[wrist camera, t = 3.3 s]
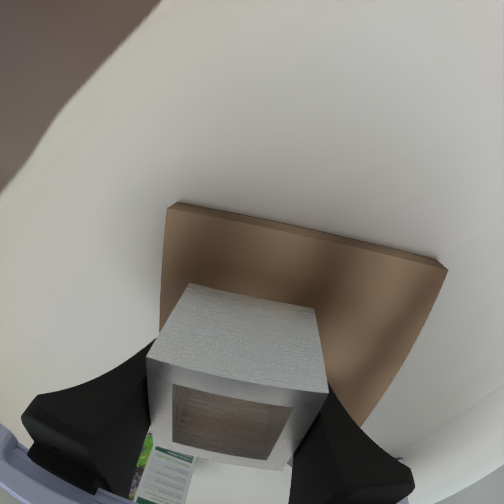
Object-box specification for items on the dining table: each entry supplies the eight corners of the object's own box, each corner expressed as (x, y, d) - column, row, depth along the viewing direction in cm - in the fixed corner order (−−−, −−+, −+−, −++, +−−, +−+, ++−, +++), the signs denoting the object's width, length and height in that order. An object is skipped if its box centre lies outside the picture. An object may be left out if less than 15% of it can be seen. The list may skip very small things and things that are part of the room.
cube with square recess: (314, 308, 12) (329, 393, 8) (283, 392, 14) (281, 470, 10) (189, 282, 12) (145, 356, 8) (182, 371, 14) (153, 445, 10)
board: (437, 260, 16) (448, 270, 14) (349, 425, 21) (351, 438, 20) (176, 202, 16) (167, 208, 14) (165, 395, 21) (160, 408, 20)
